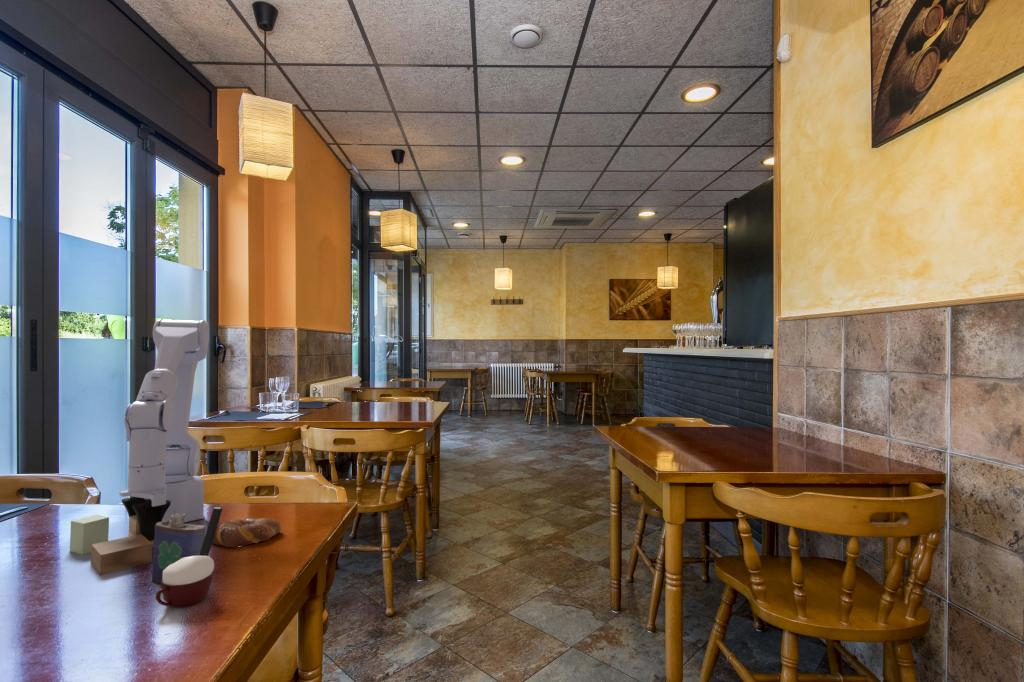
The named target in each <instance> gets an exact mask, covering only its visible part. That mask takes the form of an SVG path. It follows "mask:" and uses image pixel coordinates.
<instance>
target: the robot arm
mask: <svg viewBox="0 0 1024 682" xmlns="http://www.w3.org/2000/svg"><path fill="white" fill-rule="evenodd" d="M152 340H153V343H154V344H155V347H156V351H157V354H156V359H155V365H154V369H152V370H149V371H148V372H147V373H146V374H145V376H144V378H143V381H142V383H141V385H140V389H139V392H138V394H137V396H136V400H135V401H134V402H132V403H130V404H127V407H126V409H125V412H124V417H123V419H124V423H123V424H124V427H125V431H126V441H127V442H129V443H128V446H129V448H128V468H127V469H128V470H127V471H128V473H127V476H128V477H127V488H126V489H125V490H120V491H119V493H118V494H119V496H120V497H123V499H121V503H122V505H123V506H124V508H125V509H126V512H127V516H128V517H129V516H134V515H137V518H138V522H139V529H140V534H142V535H143V536H144V537H145V538H146V539H148V540H149V541H152V540H154V537H155V524H156V523H158V522H162V521H166V520H168V519H171V520H175V518H172V517H171V516H172V515H173V514H174V516H175V514H180V515H183V513H185V514H186V517H185V518H183V519H184V520H185V521H184V523H188V522H193V521H197V520H202V519H205V517H206V516H205V515H204V506H205V505H204V503H205V502H204V501H205V486H204V480H203V479H202V476H200V475H197V474H198V473H199V471H200V466H201V443H200V441H199V440H198V439H197V438H196V437H193V436H192V435H191V434H190V433H188V431H189V424H190V423H189V422H190V414H191V406H192V399H193V391H194V383H195V376H196V375H195V374H196V370H197V367H198V364H199V362H201V361H203V360H205V359H206V358H207V354H208V349H209V341H210V327H209V324H208V322H207V321H206V320H204V319H201V320H187V319H184V320H183V319H163V318H158V319H156V321H155V322H154V324H153V327H152ZM124 497H126V498H124Z"/></svg>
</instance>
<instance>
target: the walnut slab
mask: <svg viewBox="0 0 1024 682" xmlns="http://www.w3.org/2000/svg"><path fill="white" fill-rule="evenodd" d="M150 563H153V547H152V543H151V542H150V541H149V540H148V539H146V538H145V537H144V536H143V535H142V534H139V535H134V536H130V537H129V536H125V537H120V538H117V539H115V538H114V539H111V540H108V541H106V542H101V543H96V544H92V547H91V552H90V565H91V566H92V567H93V568H94V569H95V571H96V572H97V573H98V574H99V576H103V575H107V574H111V573H114V572H118V571H119V572H120V571H122V570H128V569H130V568H135V567H138V566H139V567H140V566H143V565H147V564H150Z"/></svg>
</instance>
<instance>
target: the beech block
mask: <svg viewBox="0 0 1024 682" xmlns="http://www.w3.org/2000/svg"><path fill="white" fill-rule="evenodd" d="M139 534H140V529H139V522H138V518H137V515H134V516H129V515H128V537H130V536H134V535H139ZM150 542H151V543H152V548H154V540H152V541H150Z"/></svg>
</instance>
